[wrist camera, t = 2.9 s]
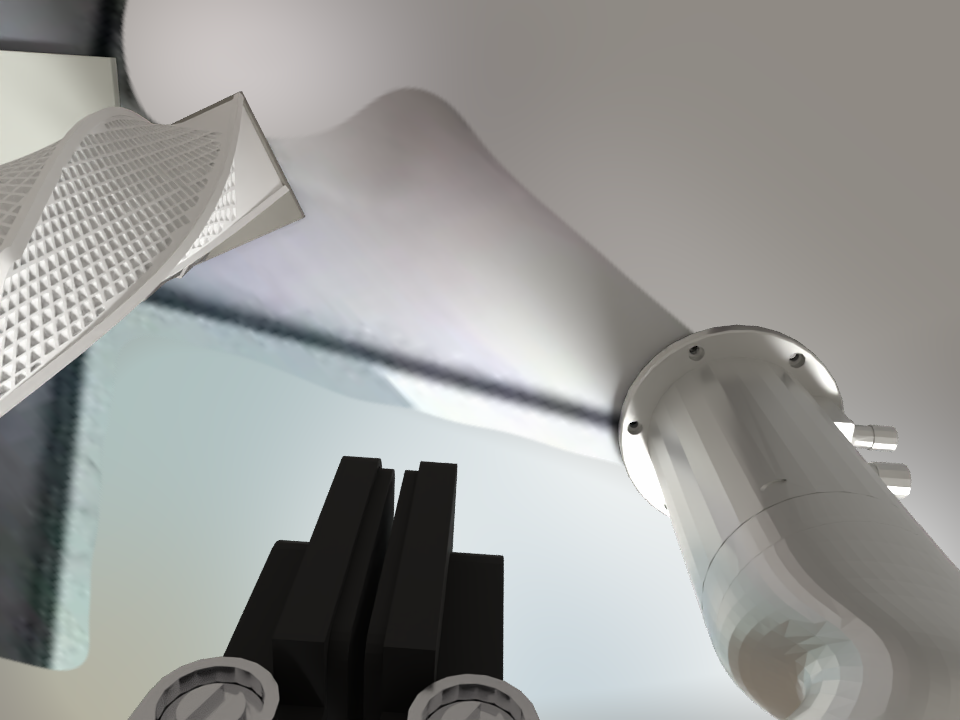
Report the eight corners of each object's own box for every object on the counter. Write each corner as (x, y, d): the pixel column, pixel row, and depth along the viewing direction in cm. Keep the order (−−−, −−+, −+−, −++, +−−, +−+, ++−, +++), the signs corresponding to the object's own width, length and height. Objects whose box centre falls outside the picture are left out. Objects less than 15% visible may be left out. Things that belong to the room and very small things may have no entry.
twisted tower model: (111, 120, 44) (-487, 245, 17) (247, 54, 42) (-184, 83, 16) (193, 265, 46) (-218, 562, 20) (323, 208, 45) (61, 447, 19)
